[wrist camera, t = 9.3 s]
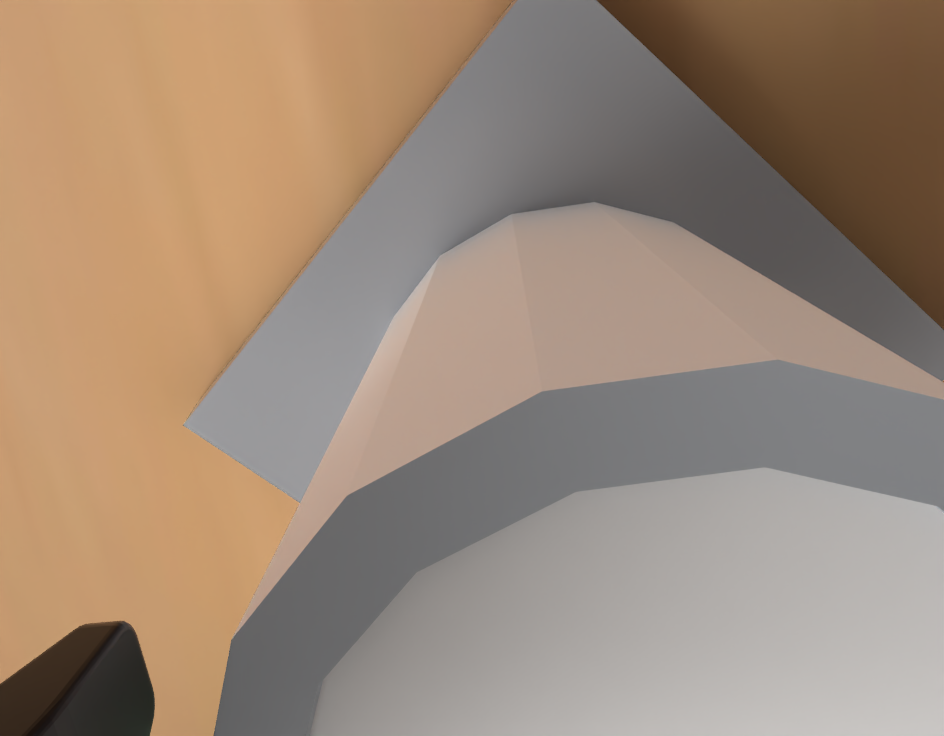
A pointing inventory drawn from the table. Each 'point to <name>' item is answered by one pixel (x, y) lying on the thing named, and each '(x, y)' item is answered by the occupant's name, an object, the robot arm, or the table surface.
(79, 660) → the robot arm
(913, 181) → the table surface
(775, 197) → the slate tile
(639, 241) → the white cup
